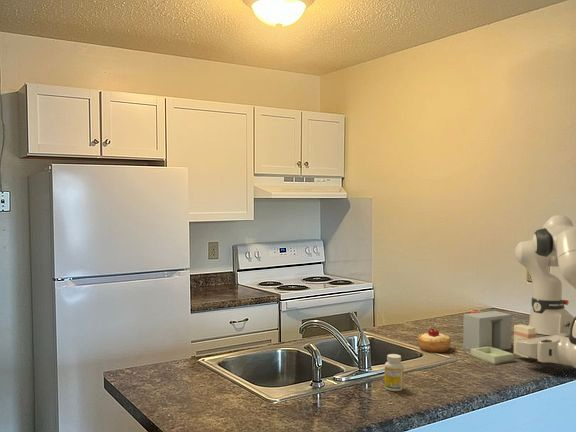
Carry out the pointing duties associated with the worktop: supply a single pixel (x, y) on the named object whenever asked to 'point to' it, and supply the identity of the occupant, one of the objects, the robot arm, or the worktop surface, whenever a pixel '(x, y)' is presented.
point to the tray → (492, 355)
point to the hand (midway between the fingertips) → (524, 339)
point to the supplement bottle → (394, 373)
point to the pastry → (434, 341)
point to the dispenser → (487, 330)
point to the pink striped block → (523, 335)
